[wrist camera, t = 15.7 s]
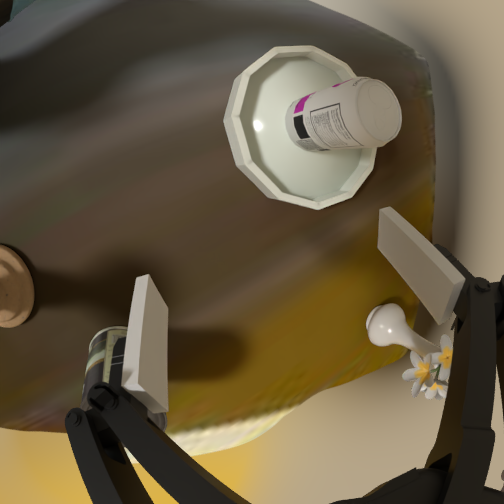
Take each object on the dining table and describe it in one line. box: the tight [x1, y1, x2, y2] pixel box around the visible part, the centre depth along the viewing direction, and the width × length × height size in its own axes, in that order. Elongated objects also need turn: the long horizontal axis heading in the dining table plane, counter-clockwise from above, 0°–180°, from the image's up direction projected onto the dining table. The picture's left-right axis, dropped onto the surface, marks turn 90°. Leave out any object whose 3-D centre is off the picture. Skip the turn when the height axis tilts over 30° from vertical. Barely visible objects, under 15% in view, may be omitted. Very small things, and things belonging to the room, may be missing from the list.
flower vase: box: [366, 303, 453, 400], centre depth 45 cm, size 13×18×25 cm
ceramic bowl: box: [223, 46, 377, 210], centre depth 38 cm, size 24×24×4 cm
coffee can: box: [80, 326, 167, 447], centre depth 32 cm, size 10×10×14 cm
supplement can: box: [285, 77, 402, 152], centre depth 32 cm, size 8×8×15 cm
